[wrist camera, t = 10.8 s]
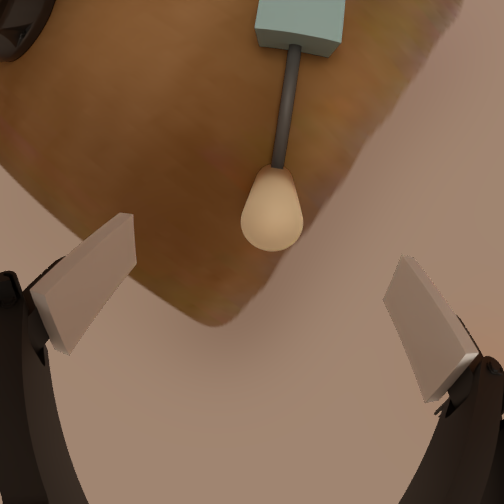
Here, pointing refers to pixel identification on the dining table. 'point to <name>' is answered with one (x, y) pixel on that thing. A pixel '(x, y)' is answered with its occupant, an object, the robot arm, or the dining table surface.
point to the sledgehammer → (287, 113)
